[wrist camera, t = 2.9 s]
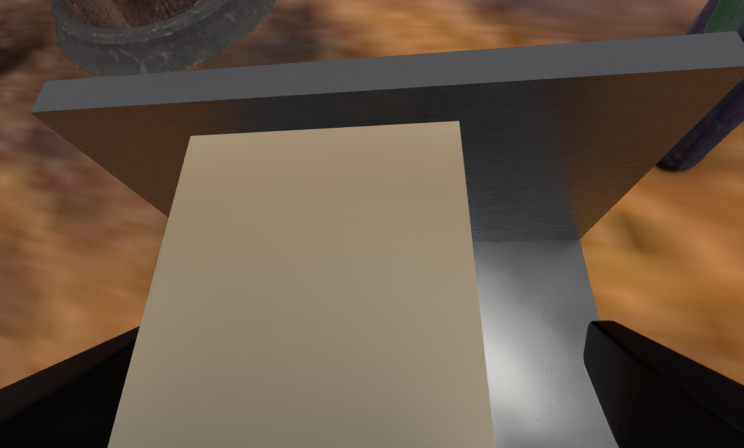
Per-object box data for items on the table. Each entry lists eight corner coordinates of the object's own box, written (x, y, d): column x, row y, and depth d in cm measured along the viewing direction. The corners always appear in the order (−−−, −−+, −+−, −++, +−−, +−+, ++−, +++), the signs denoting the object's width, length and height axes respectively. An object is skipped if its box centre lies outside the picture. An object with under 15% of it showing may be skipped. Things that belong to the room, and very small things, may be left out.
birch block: (431, 444, 13) (516, 635, 2) (345, 442, 13) (64, 606, 3) (425, 326, 15) (459, 121, 4) (349, 326, 15) (190, 135, 4)
